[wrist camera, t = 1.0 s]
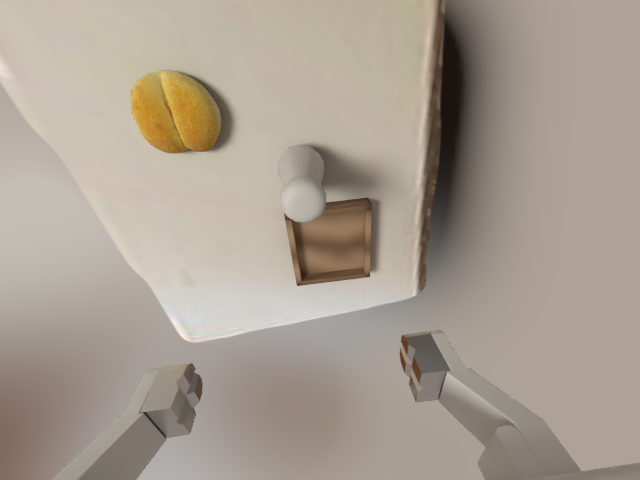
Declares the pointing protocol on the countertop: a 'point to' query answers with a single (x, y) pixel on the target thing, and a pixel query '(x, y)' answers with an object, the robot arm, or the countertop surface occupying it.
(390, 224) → the countertop surface
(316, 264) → the tray
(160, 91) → the bread roll
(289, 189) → the salt shaker
